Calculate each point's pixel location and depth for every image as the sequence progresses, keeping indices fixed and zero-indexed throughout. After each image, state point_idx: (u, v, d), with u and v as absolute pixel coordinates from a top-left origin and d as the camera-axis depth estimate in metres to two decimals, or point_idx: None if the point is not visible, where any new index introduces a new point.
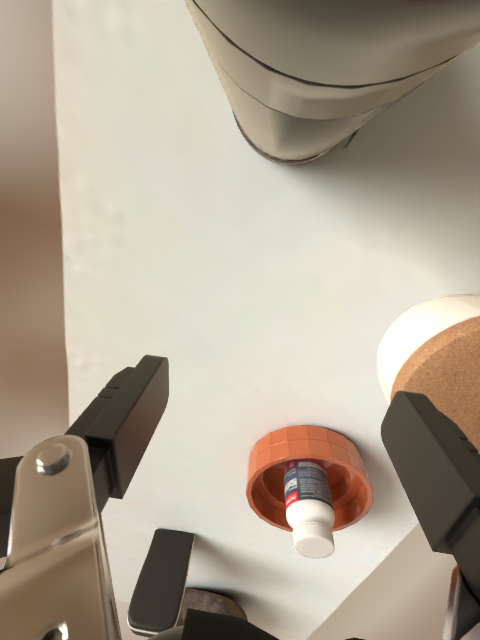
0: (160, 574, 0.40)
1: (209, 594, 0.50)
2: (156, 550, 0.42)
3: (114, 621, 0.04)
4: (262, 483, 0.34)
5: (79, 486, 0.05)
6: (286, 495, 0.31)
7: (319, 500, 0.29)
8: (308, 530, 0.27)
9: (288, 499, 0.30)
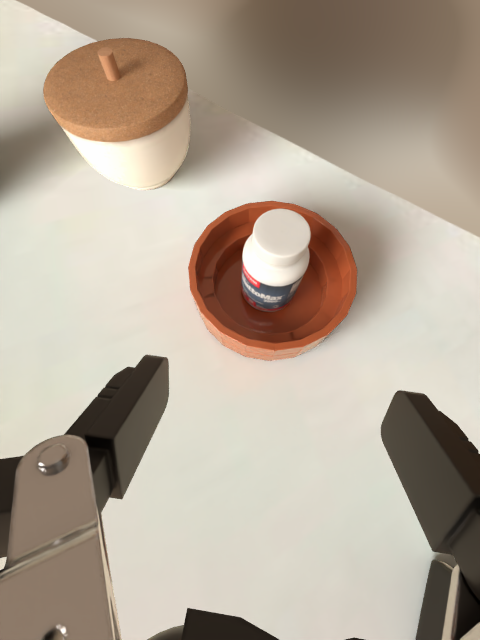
0: None
1: None
2: None
3: (114, 621, 0.04)
4: (261, 333, 0.23)
5: (79, 486, 0.05)
6: (255, 288, 0.22)
7: None
8: (252, 235, 0.19)
9: (252, 282, 0.22)
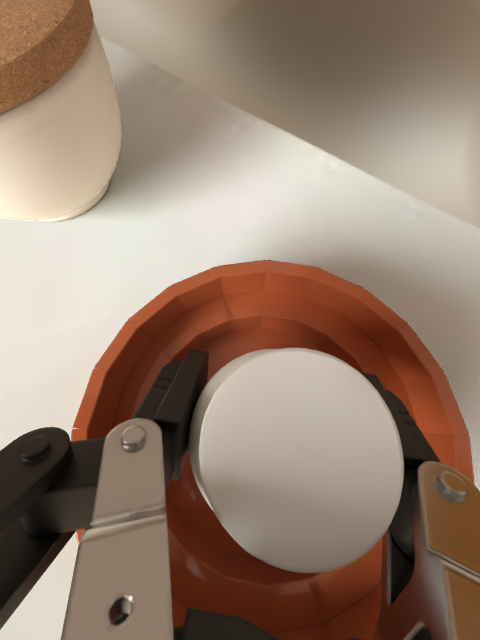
0: None
1: None
2: None
3: None
4: (243, 585, 0.10)
5: (162, 461, 0.06)
6: None
7: None
8: None
9: None
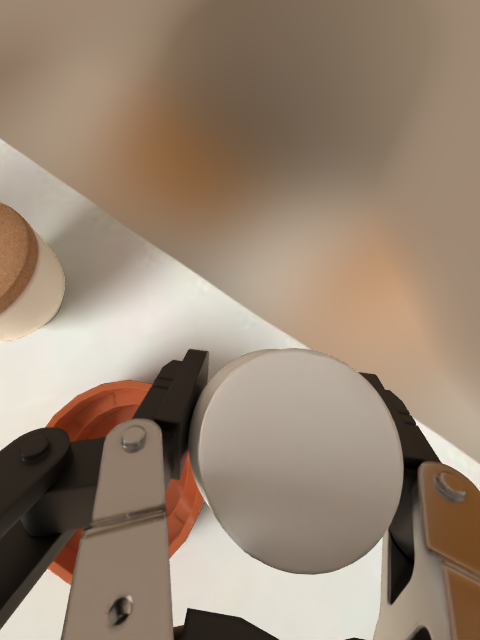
0: None
1: None
2: None
3: None
4: None
5: (163, 461, 0.06)
6: None
7: None
8: None
9: None
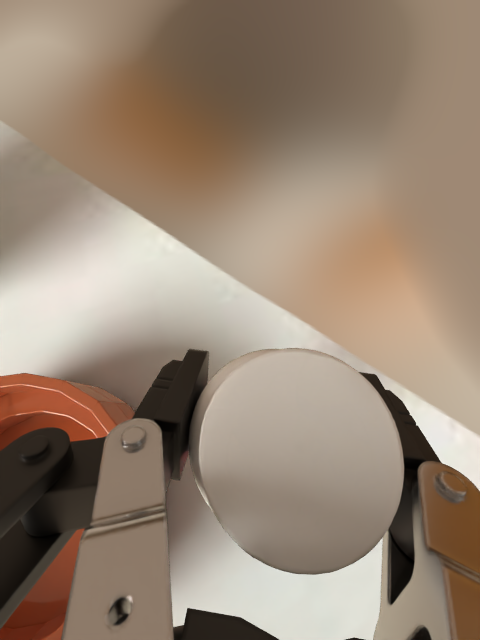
0: None
1: None
2: None
3: None
4: None
5: (162, 461, 0.06)
6: None
7: None
8: None
9: None
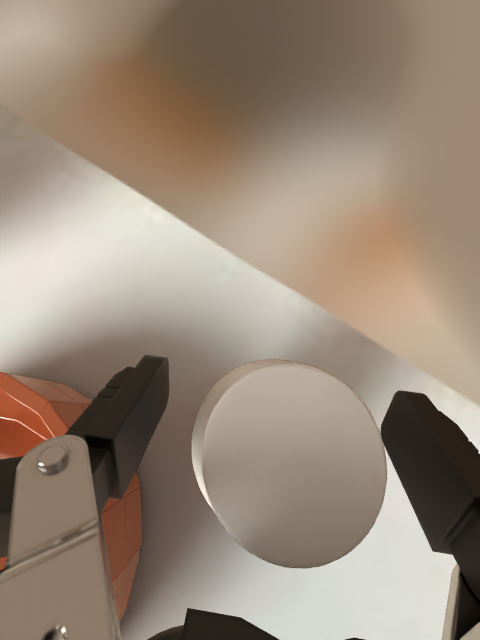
0: None
1: None
2: None
3: (114, 621, 0.04)
4: None
5: (79, 486, 0.05)
6: None
7: None
8: None
9: None
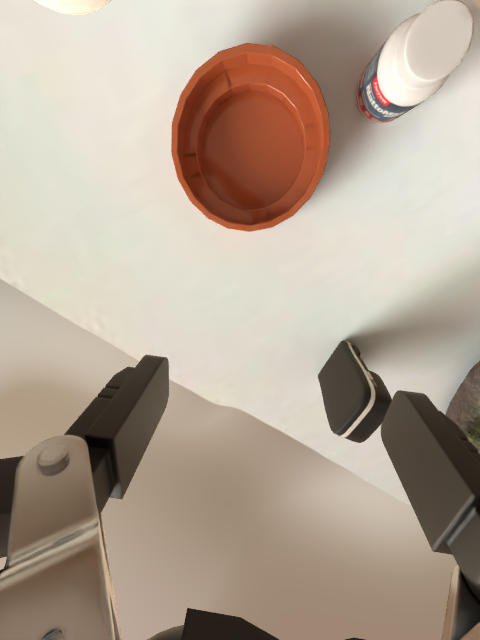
0: (335, 386, 0.32)
1: (467, 375, 0.34)
2: (324, 382, 0.35)
3: (114, 621, 0.04)
4: (242, 210, 0.29)
5: (79, 486, 0.05)
6: (381, 105, 0.22)
7: (389, 37, 0.20)
8: (402, 47, 0.18)
9: (380, 99, 0.22)
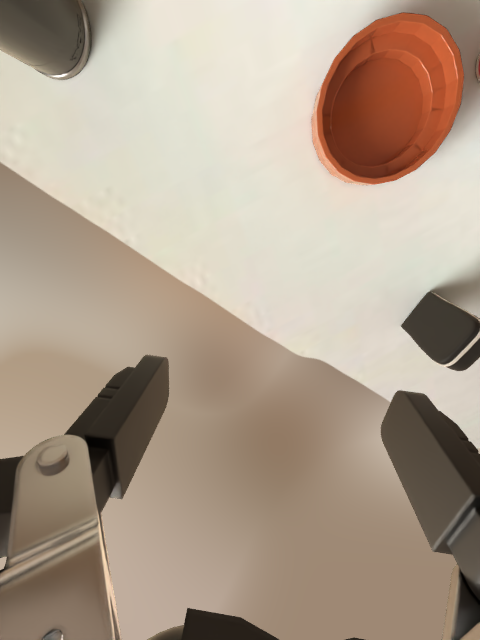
0: (431, 327, 0.37)
1: None
2: (414, 328, 0.40)
3: (114, 621, 0.04)
4: (363, 167, 0.33)
5: (79, 486, 0.05)
6: None
7: None
8: None
9: None
